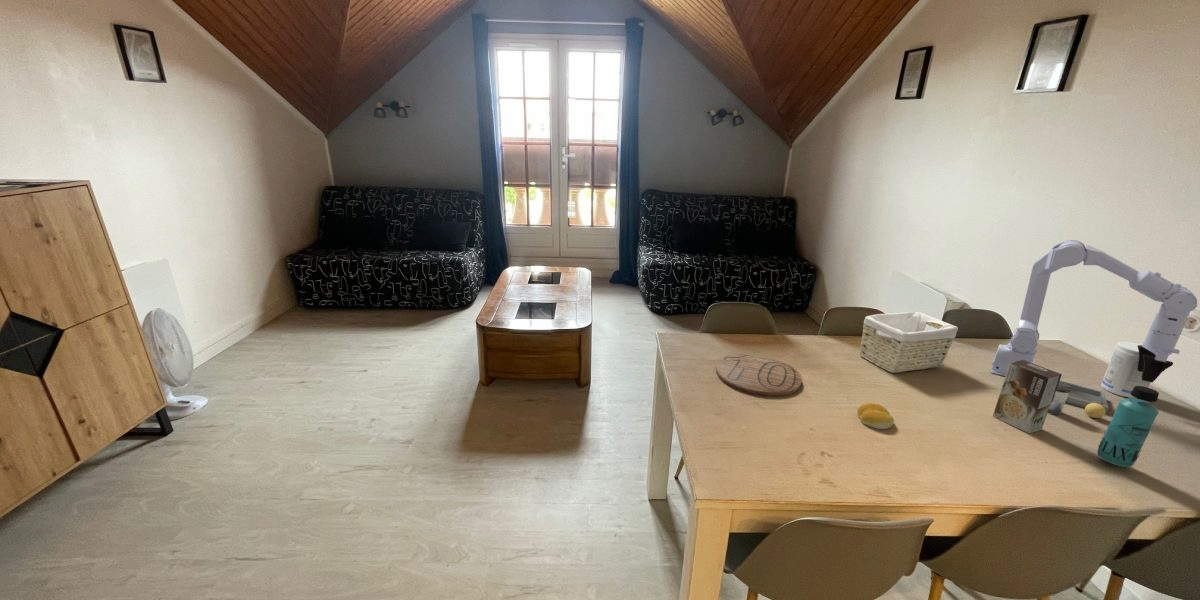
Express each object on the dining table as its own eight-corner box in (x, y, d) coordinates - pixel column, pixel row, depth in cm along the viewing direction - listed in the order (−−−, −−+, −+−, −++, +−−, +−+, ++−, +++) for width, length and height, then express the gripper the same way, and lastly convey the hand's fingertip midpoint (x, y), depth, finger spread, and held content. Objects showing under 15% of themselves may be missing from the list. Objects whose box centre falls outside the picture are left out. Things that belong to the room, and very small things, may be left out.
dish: (1049, 398, 146) (1051, 392, 146) (1049, 384, 155) (1051, 378, 154) (1105, 413, 139) (1108, 407, 139) (1101, 397, 148) (1104, 391, 147)
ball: (1083, 417, 137) (1088, 404, 136) (1082, 411, 140) (1087, 398, 139) (1103, 422, 135) (1108, 409, 133) (1101, 416, 138) (1107, 404, 136)
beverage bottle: (1085, 455, 120) (1117, 381, 113) (1110, 455, 121) (1143, 381, 114) (1114, 473, 114) (1149, 396, 107) (1140, 473, 114) (1177, 396, 108)
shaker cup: (1038, 410, 140) (1048, 384, 137) (1038, 404, 143) (1048, 378, 140) (1061, 417, 137) (1072, 390, 134) (1061, 410, 140) (1071, 384, 137)
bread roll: (863, 428, 128) (866, 415, 126) (853, 410, 136) (856, 397, 135) (898, 433, 126) (902, 419, 125) (885, 414, 135) (889, 401, 133)
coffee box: (1043, 429, 130) (1064, 374, 125) (1029, 434, 128) (1050, 378, 123) (1005, 411, 138) (1023, 359, 133) (990, 415, 136) (1009, 362, 130)
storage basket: (906, 348, 177) (916, 309, 172) (949, 368, 163) (962, 327, 158) (853, 355, 170) (862, 315, 165) (893, 377, 155) (904, 333, 151)
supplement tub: (1147, 394, 151) (1167, 350, 146) (1139, 402, 146) (1159, 357, 141) (1104, 381, 159) (1122, 338, 154) (1095, 388, 154) (1113, 344, 149)
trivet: (708, 386, 146) (709, 380, 145) (722, 353, 168) (723, 348, 167) (799, 405, 137) (801, 399, 137) (801, 368, 159) (802, 363, 159)
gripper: (1192, 343, 128) (1170, 390, 132) (1180, 328, 138) (1160, 372, 143) (1153, 335, 132) (1133, 381, 136) (1144, 321, 143) (1126, 364, 147)
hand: (1144, 376), depth 140 cm, fingers open, 7 cm apart
